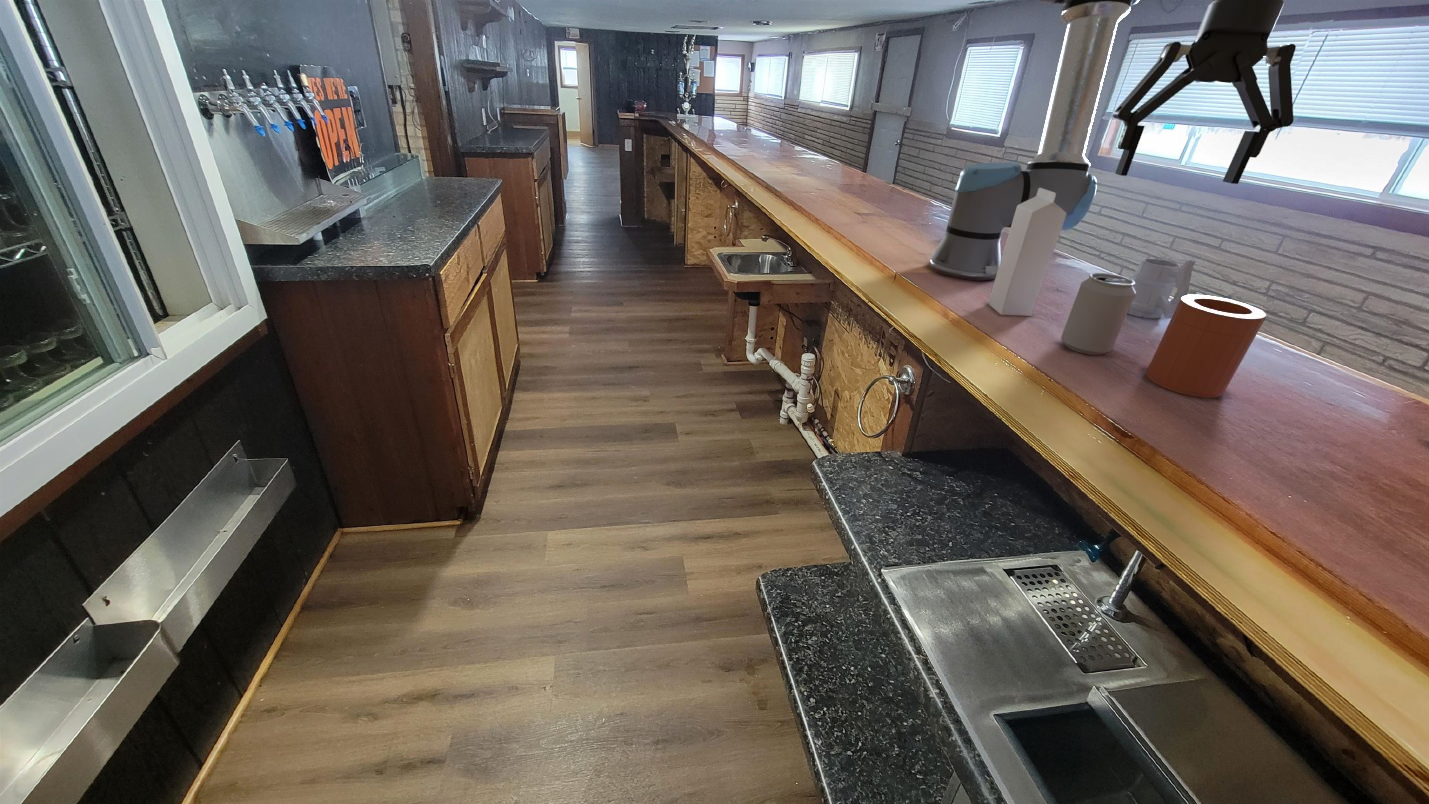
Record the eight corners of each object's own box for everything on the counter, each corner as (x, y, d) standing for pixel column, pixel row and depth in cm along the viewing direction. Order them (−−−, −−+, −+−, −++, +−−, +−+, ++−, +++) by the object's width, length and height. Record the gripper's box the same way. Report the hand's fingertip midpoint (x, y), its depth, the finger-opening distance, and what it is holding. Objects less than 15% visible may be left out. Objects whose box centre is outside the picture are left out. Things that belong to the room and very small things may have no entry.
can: (1067, 334, 99) (1092, 267, 93) (1115, 348, 94) (1145, 278, 88) (1052, 346, 94) (1078, 276, 88) (1102, 361, 89) (1133, 288, 83)
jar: (1139, 364, 89) (1173, 290, 83) (1210, 376, 86) (1250, 301, 80) (1154, 389, 81) (1192, 310, 75) (1232, 403, 78) (1279, 323, 72)
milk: (1000, 315, 106) (1038, 192, 95) (987, 304, 111) (1021, 186, 100) (1032, 316, 106) (1074, 194, 95) (1017, 305, 111) (1055, 187, 100)
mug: (1143, 305, 114) (1169, 246, 108) (1190, 327, 104) (1221, 264, 98) (1108, 305, 114) (1132, 245, 108) (1151, 327, 104) (1181, 263, 98)
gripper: (1144, -7, 70) (1084, 174, 81) (1393, -7, 64) (1293, 189, 74) (1125, 2, 77) (1071, 169, 87) (1350, 3, 71) (1264, 183, 81)
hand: (1174, 179), depth 81 cm, fingers open, 13 cm apart
